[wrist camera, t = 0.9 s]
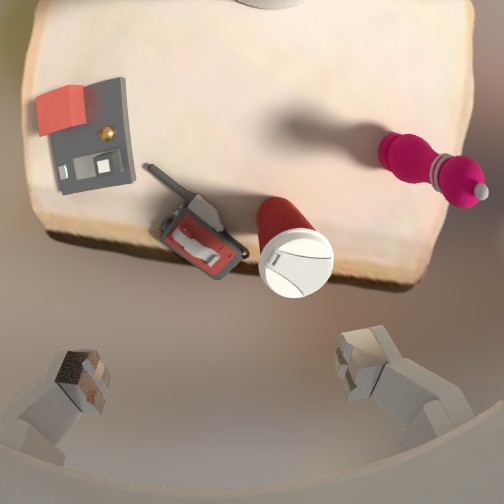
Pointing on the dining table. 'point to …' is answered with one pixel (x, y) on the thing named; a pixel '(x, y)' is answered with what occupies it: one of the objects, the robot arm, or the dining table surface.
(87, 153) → the panel
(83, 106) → the cap
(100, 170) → the block
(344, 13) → the dining table surface
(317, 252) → the coffee cup
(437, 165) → the pepper mill
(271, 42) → the dining table surface
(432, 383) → the robot arm
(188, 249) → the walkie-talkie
